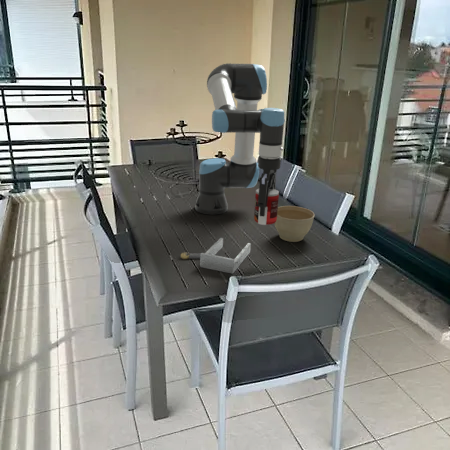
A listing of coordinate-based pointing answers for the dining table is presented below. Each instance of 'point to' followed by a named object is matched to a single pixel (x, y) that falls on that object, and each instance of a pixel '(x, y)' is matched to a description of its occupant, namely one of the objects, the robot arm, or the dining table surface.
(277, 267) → the dining table surface
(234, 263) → the channel
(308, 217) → the planter bowl
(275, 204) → the canned food
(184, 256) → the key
